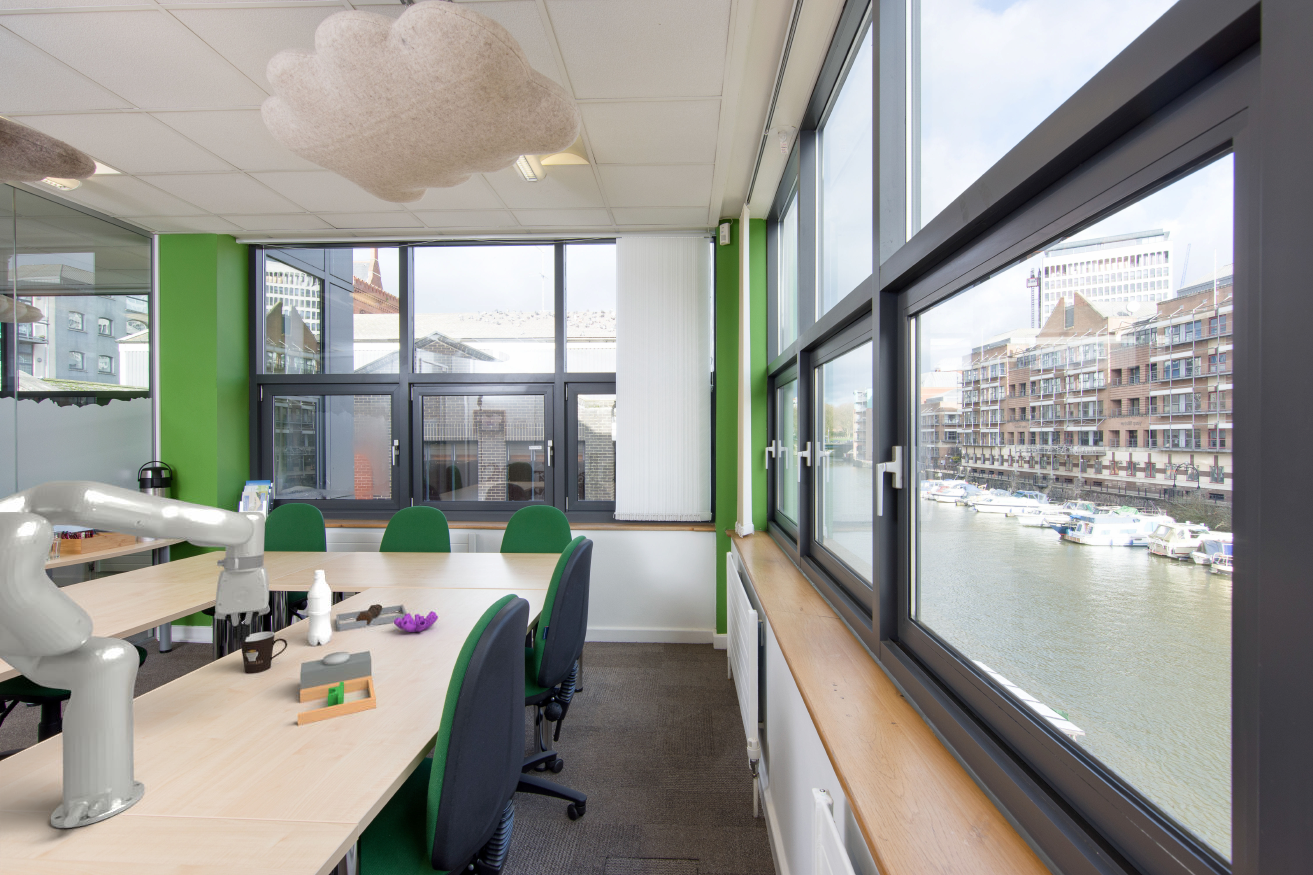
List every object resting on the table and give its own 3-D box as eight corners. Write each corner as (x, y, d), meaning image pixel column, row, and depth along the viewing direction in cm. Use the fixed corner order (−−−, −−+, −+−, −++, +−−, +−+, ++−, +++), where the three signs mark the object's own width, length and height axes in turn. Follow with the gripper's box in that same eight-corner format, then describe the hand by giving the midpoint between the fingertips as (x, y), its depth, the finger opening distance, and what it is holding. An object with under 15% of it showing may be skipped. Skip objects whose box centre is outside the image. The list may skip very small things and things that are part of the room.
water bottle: (337, 640, 195) (336, 568, 196) (319, 647, 188) (318, 573, 189) (320, 638, 197) (319, 567, 198) (302, 646, 190) (301, 572, 191)
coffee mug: (233, 673, 168) (232, 640, 168) (259, 662, 176) (259, 630, 176) (264, 677, 165) (264, 643, 165) (289, 665, 173) (289, 633, 174)
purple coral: (437, 639, 204) (435, 623, 199) (392, 644, 200) (389, 627, 195) (440, 613, 213) (438, 597, 208) (397, 617, 209) (394, 601, 203)
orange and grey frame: (375, 707, 145) (375, 674, 145) (297, 725, 136) (297, 690, 136) (369, 674, 166) (369, 645, 166) (301, 687, 157) (301, 657, 157)
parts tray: (407, 620, 217) (407, 613, 217) (337, 631, 205) (336, 624, 205) (402, 610, 229) (402, 604, 229) (336, 620, 217) (336, 614, 217)
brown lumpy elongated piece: (380, 617, 225) (365, 629, 210) (368, 611, 224) (353, 623, 209) (388, 604, 225) (374, 615, 210) (376, 598, 224) (361, 609, 209)
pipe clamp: (329, 700, 150) (329, 683, 150) (344, 697, 152) (344, 681, 152) (326, 716, 141) (326, 699, 141) (342, 713, 142) (342, 696, 142)
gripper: (202, 568, 129) (198, 650, 127) (280, 562, 136) (277, 640, 135) (208, 563, 135) (205, 641, 134) (282, 558, 142) (280, 632, 141)
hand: (241, 640), depth 134 cm, fingers closed
